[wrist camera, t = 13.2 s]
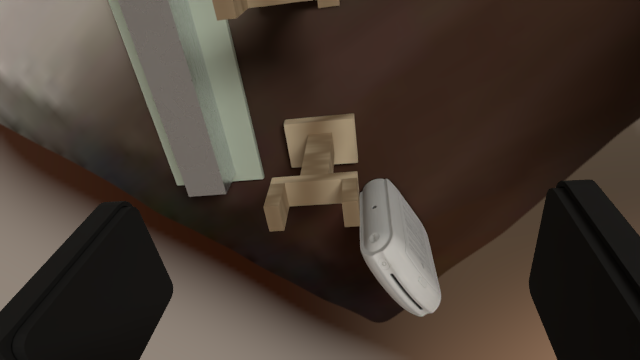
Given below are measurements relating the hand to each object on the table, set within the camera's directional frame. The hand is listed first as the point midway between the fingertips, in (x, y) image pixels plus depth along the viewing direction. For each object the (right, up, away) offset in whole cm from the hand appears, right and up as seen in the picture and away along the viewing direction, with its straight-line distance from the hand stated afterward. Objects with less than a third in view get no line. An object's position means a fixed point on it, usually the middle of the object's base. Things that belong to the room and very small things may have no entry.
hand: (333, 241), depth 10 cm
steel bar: (-13, +11, +29) cm, 34 cm away
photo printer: (+8, -2, +37) cm, 38 cm away
